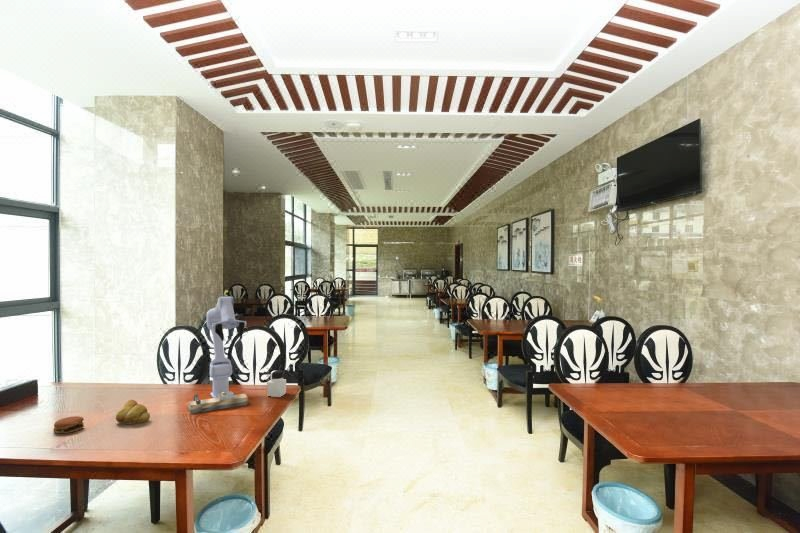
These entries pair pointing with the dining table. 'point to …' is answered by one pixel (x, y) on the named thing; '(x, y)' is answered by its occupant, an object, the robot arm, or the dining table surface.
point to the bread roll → (132, 413)
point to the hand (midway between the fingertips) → (232, 338)
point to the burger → (68, 424)
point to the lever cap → (225, 395)
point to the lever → (197, 399)
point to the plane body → (217, 403)
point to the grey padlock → (276, 384)
